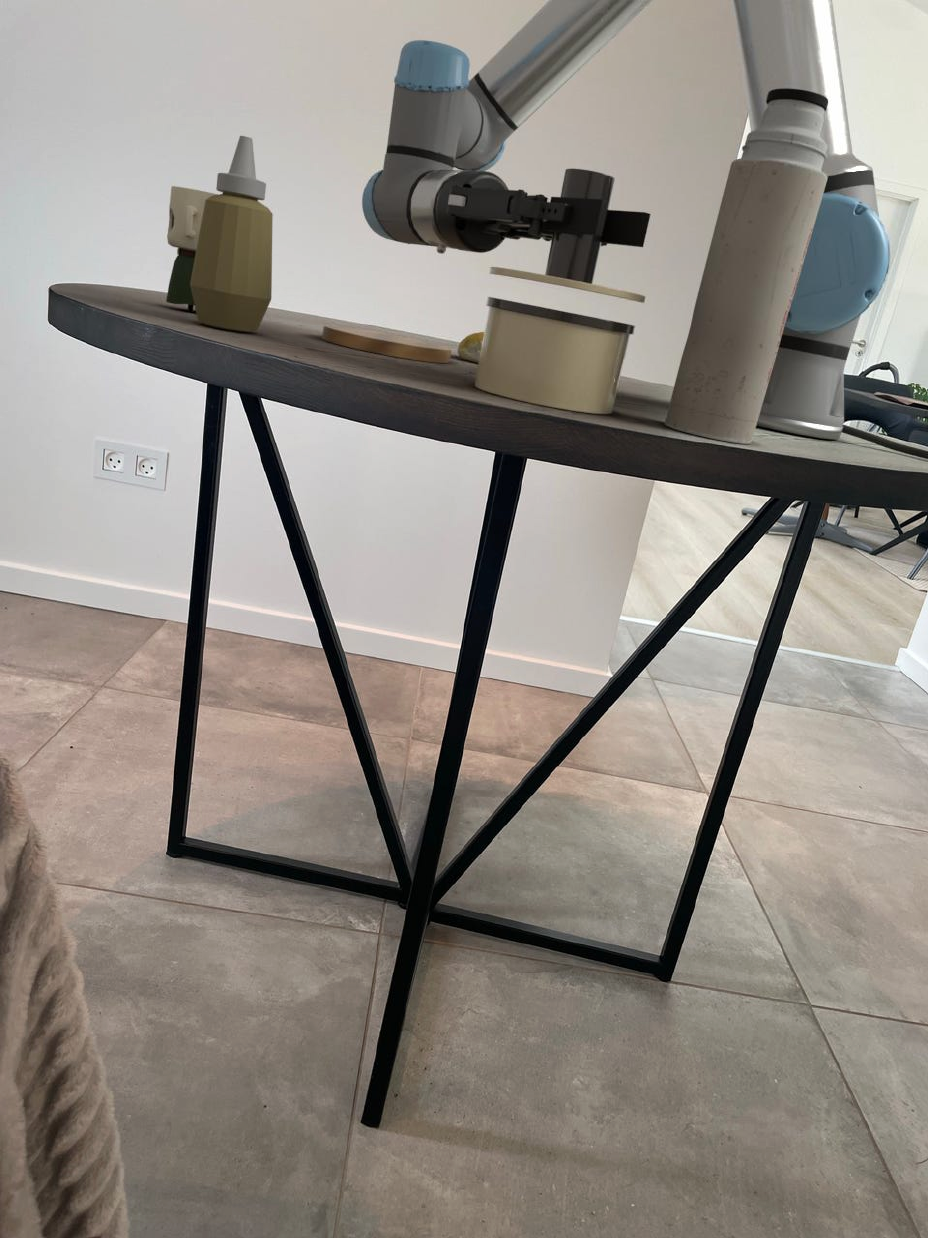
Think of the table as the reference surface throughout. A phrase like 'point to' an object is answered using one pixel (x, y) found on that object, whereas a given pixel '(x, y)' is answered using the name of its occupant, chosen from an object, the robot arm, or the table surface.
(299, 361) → the table surface
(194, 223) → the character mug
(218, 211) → the squeeze bottle
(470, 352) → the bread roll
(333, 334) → the trivet
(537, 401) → the pot
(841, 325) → the robot arm
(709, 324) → the thermos bottle
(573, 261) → the lid
